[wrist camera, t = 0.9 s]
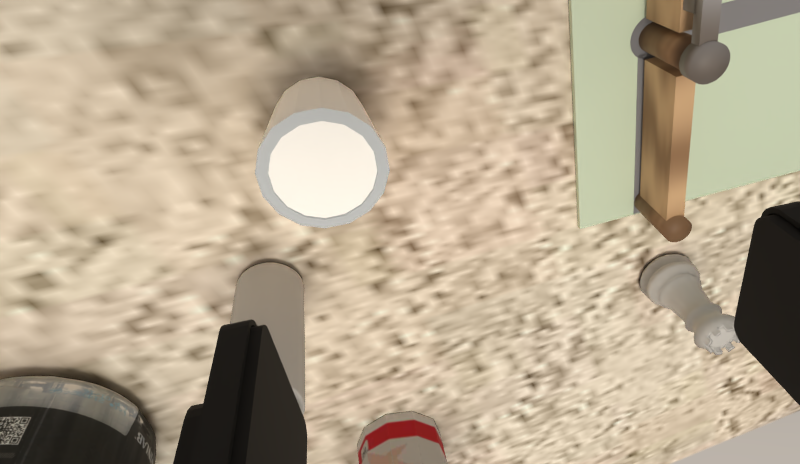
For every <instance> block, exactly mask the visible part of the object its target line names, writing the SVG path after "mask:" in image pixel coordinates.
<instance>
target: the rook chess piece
mask: <svg viewBox="0 0 800 464" xmlns="http://www.w3.org/2000/svg"><path fill="white" fill-rule="evenodd" d="M640 287H641V291H642V292H643V293H644V294H645V295H646V296H647V297H648V298H649V299H650V300H651V301H652V302H653V303H655V304H657V305H660V306H663V307H665V308H668V309H671V310H672V311H673V312H675V313H676V314H677V315H678V316H679V317H680V318H681V319H682V320H683V321H684V322H685V327H686V329H687V330H688V331H691V332H694V343H695V344H696V345H697V346H698V347H699V348H703V349H707V350H708V351H709V352H710V353H712V352H714V354H715V355H719V354H722V352H723V351H722V350H721V348H724V347H725V348H726V349H727V350H728V352H729V351H731V350H732V349H734V348H735V347H734V346H733V345H732V344H731V342H732V341H733V340H734V341H735V342H736V343H740V341H739V339H738V337H737V336H736V333H735V330H734V320H735V317H734V316H730V315H726V314H722V309H721V307H720V306H719V305H717V304H714V303H712V302H711V301H710V300H709V298H708V297H707V295H706V294H705V292H704V291H703V289H702V287H701V281H700V275H699V272H698V269H697V268H696V267H695V266H694V265H693V264H692V262H691V261H690V260H689V258H688V257H686V256H683V255H680V254H669V255H663V256H661V257H658V258H656V259H655V260H653V261H652V262H651V263H649V264H648V265H647V267H646V268H645V269H644V271H643V273H642V276H641V279H640Z"/></svg>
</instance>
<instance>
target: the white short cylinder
mask: <svg viewBox="0 0 800 464" xmlns="http://www.w3.org/2000/svg"><path fill="white" fill-rule="evenodd" d="M389 171H390V169H389V164H388V158H387V153H386V147H385V145H384V143H383V142H382V140H381V138H380V136H379V134H378V132H377V131H376V129H375V127H374V125H373V123H372V121H371V120H370V118H369V116H368V114H367V112H366V111H365V109H364V107H363V105H362V104H361V102H360V101H359V99H358V98H357V96H356V95H355V93H354V92H353V90H351V89H350V88H348V87H347V86H345V85H344V84H342V83H341V82H339V81H337V80H333V79H328V78H323V77H314V78H309V79H304V80H300V81H298V82H297V83H295V84H294V85H292V86H291V87H289V88H288V89H287V90H285V91H284V93H283V95H282V96H281V98H280V99H279V101H278V103H277V104H276V106H275V109H274V111H273V113H272V116H271V118H270V121H269V123H268V126H267V128H266V131H265V133H264V136H263V138H262V141H261V143H260V146H259V148H258V153H257V162H256V170H255V175H256V178H257V181H258V184H259V187H260V190H261V193H262V196H263V197H264V198H265V199H266V200H267V201H268V203H269V204H270V205H271V206H272V207H273V208H274V209H275V210H276V211H277V213H278V214H280V215H282V216H284V217H286V218H288V219H290V220H292V221H294V222H296V223H298V224H300V225H304V226H312V227H320V228H329V227H334V226H338V225H343V224H348V223H351V222H352V221H354V220H356V219H357V218H359V217H360V216H362V215H364V214H365V213H367V212H369V211H370V210H371V209H372V207H373V206H374V205H375V203H376V202H377V201H378V200H379V198H380V197H381V196H382V194H383V193H384V190H385V187H386V183H387V179H388V175H389Z"/></svg>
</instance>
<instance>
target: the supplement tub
mask: <svg viewBox="0 0 800 464" xmlns="http://www.w3.org/2000/svg"><path fill="white" fill-rule="evenodd" d="M155 457H156V442H155V435H154V432H153V430H152V428H151V426H150V424H149V423H148V421H147V420H146V419H145V417H144V416H143V414H142V413H141V412H140V411H139V409H138V408H137V407H136V406H135V405H134V404H133V403H132V402H130V401H129V400H128V399H126V398H125V397H123V396H122V395H120V394H118V393H116V392H114V391H112V390H110V389H107V388H105V387H102V386H100V385H96V384H93V383H89V382H85V381H80V380H74V379H68V378H61V377H55V376H22V377H12V378H7V379H2V380H0V464H155Z"/></svg>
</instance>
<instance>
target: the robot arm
mask: <svg viewBox="0 0 800 464" xmlns="http://www.w3.org/2000/svg"><path fill="white" fill-rule="evenodd" d="M734 330H735V333H736V336H737V337H738V339H739V341H740V342H741V343H742V344H743V345H744V346H745V347H746V348H747V350H748V351H749V352H750V353H751V354H752V355H753V356H754V357H755V358H756V359H757V360H758V361H759V362H760V363H761V364H762V366H763V367H764V368H765V369H766V370H767V371H768V372H769V373H770V374H771V375H772V376H773V377H774V378H775V379H776V381H777V382H778V383H779V384H780V385H781V386H782V387H783V388H784V389H785V390H786V391H787V392H788V393H789V394H790V396H791V397H792V398H793V399H794V400H795V401H796V402H797V403H798V404H799V405H800V202H793V203H788V204H784V205H779V206H774V207H770V208H768V209H766V210H765V211H764V212H763V213H762V216H761V218H758V219H757V220H756V222H755V225H754V229H753V234H752V238H751V243H750V248H749V253H748V258H747V262H746V267H745V272H744V277H743V282H742V286H741V291H740V296H739V301H738V306H737V310H736V315H735V320H734ZM173 464H307V430H306V424H305V420H304V417H303V414H302V412H301V409H300V407H299V404H298V402H297V399H296V397H295V394H294V392H293V389H292V387H291V384H290V382H289V379H288V377H287V374H286V372H285V369H284V367H283V364H282V362H281V359H280V357H279V354H278V352H277V349H276V347H275V344H274V342H273V339H272V337H271V334H270V332H269V329H268V327H267V326H266V325H260V326H257V324H256V322H255V321H254V320H252V319H250V320H246V321H241V322H236V323H232V324H227V325H223V326H222V327H221V328H220V331H219V335H218V340H217V345H216V349H215V354H214V358H213V363H212V367H211V372H210V376H209V381H208V385H207V390H206V395H205V399H204V403H203V404H199V405H194V406H191V407H190V408H189V409H188V411H187V413H186V416H185V419H184V422H183V426H182V430H181V434H180V438H179V442H178V446H177V450H176V454H175V458H174V462H173Z"/></svg>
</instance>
